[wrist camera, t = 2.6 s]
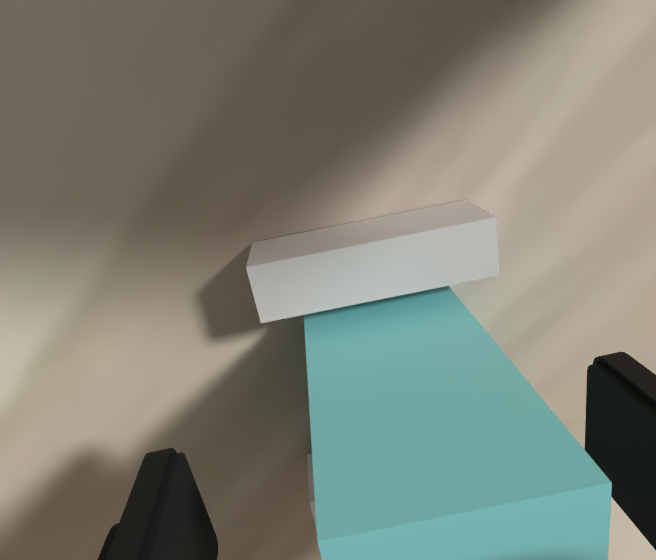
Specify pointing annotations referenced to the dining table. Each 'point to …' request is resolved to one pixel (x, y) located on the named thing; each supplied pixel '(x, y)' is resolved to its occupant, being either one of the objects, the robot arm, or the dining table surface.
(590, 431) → the robot arm
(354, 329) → the turquoise rectangular block
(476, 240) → the pair of white bars
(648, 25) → the dining table surface
